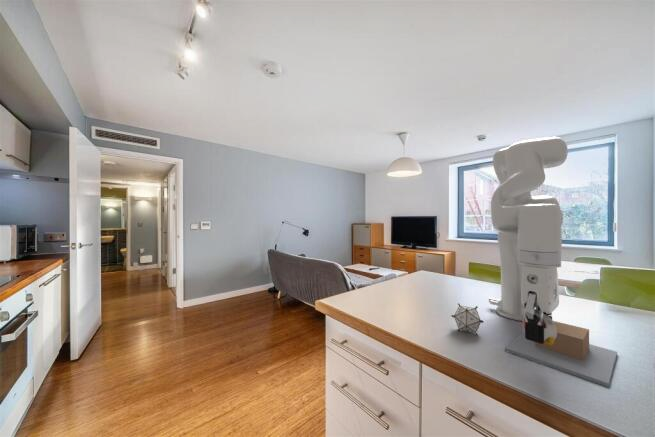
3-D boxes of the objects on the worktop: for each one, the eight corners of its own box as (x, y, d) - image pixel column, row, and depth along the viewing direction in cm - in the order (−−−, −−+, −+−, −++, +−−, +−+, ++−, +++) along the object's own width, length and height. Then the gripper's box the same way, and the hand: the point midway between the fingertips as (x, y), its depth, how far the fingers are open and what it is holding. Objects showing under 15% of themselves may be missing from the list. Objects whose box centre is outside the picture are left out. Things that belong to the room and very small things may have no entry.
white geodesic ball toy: (470, 347, 74) (469, 328, 69) (446, 327, 81) (443, 308, 76) (491, 329, 76) (491, 309, 71) (466, 311, 83) (464, 291, 78)
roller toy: (541, 333, 60) (541, 309, 60) (561, 347, 53) (561, 321, 53) (520, 332, 60) (520, 309, 60) (538, 346, 54) (538, 320, 54)
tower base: (504, 350, 65) (504, 328, 65) (528, 330, 77) (527, 311, 77) (608, 387, 51) (608, 358, 51) (617, 354, 63) (616, 331, 63)
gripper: (550, 266, 48) (551, 357, 49) (569, 255, 59) (569, 330, 59) (505, 260, 54) (506, 342, 55) (529, 252, 65) (529, 320, 65)
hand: (538, 335), depth 57 cm, fingers closed on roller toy, 6 cm apart
